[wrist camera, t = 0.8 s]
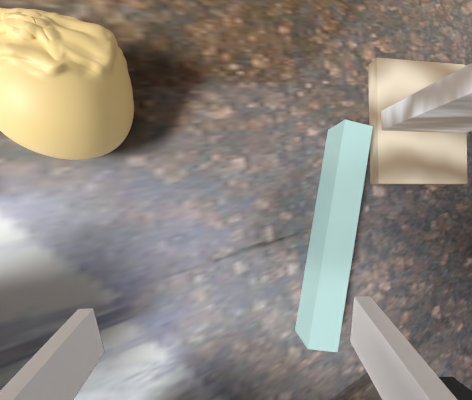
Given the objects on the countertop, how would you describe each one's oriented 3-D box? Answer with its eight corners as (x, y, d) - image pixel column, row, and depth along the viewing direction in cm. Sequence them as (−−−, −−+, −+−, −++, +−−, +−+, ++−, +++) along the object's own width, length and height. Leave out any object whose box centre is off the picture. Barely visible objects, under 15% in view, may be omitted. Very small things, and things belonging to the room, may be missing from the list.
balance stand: (455, 184, 31) (605, 173, 20) (370, 184, 30) (478, 172, 18) (453, 71, 32) (601, -8, 20) (368, 64, 30) (474, -26, 18)
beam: (319, 331, 29) (337, 352, 25) (294, 328, 29) (308, 349, 25) (351, 136, 30) (372, 126, 26) (326, 130, 30) (345, 119, 26)
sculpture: (148, 69, 26) (108, -21, 16) (139, 170, 26) (93, 148, 16) (42, 54, 25) (-82, -56, 14) (31, 161, 25) (-102, 129, 14)
